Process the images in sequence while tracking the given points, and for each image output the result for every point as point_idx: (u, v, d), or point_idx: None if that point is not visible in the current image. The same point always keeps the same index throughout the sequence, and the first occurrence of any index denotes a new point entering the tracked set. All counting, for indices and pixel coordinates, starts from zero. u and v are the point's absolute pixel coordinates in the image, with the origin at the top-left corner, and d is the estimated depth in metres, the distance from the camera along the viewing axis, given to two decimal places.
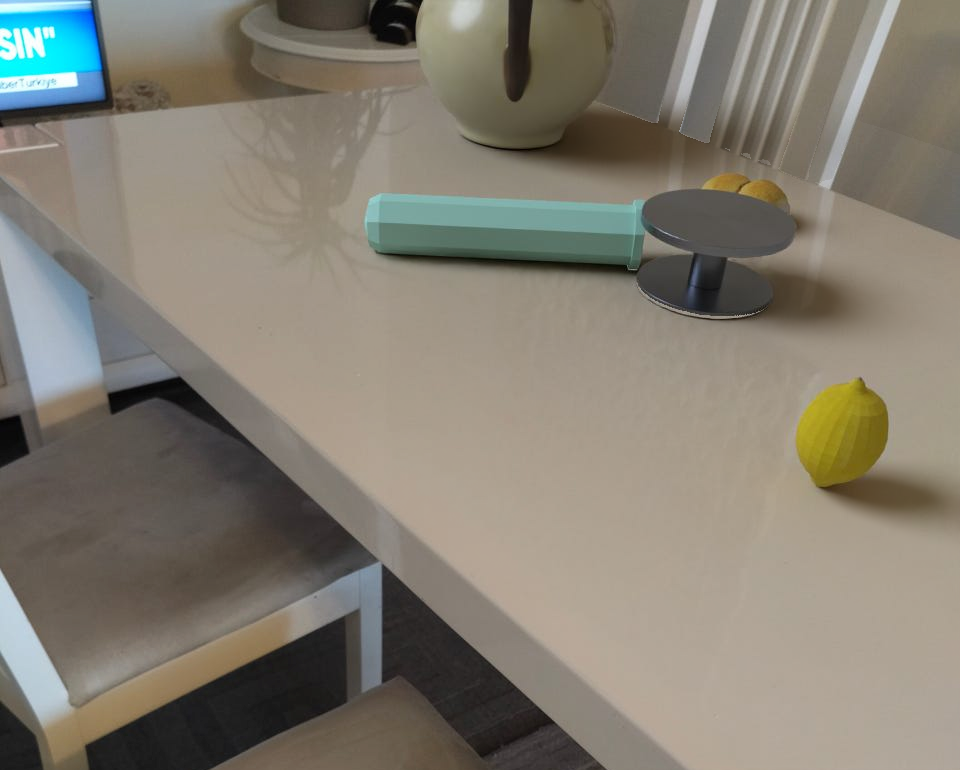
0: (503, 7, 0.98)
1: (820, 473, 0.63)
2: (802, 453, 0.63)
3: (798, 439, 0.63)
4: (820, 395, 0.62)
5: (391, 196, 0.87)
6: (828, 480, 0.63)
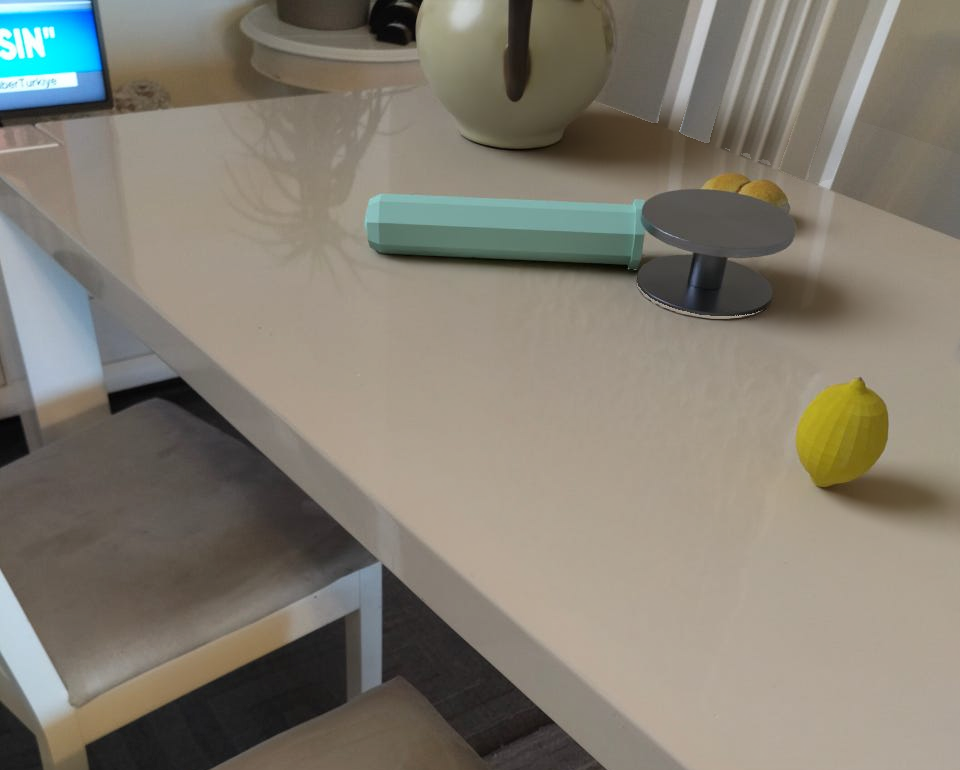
0: (503, 7, 0.98)
1: (820, 473, 0.63)
2: (802, 453, 0.63)
3: (798, 439, 0.63)
4: (820, 395, 0.62)
5: (391, 196, 0.87)
6: (828, 480, 0.63)
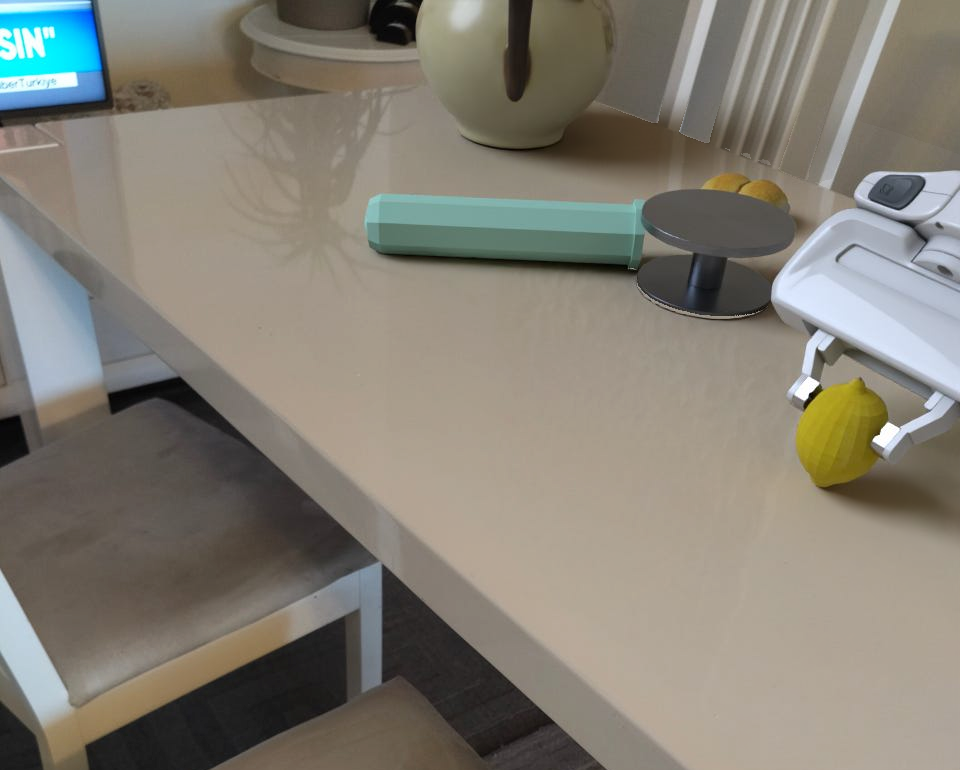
0: (503, 7, 0.98)
1: (820, 473, 0.63)
2: (802, 453, 0.63)
3: (798, 439, 0.63)
4: (820, 395, 0.62)
5: (391, 196, 0.87)
6: (828, 480, 0.63)
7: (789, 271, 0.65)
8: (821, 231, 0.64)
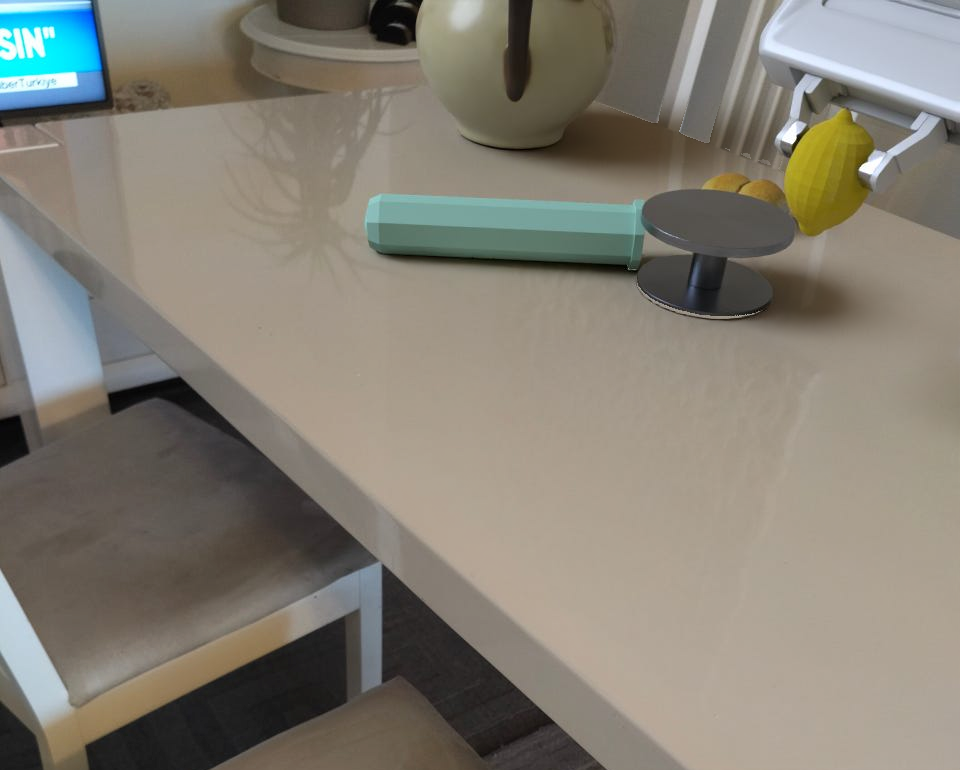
0: (503, 7, 0.98)
1: (808, 213, 0.63)
2: (791, 193, 0.64)
3: (786, 181, 0.64)
4: (808, 132, 0.62)
5: (391, 196, 0.87)
6: (817, 222, 0.64)
7: (776, 21, 0.65)
8: None
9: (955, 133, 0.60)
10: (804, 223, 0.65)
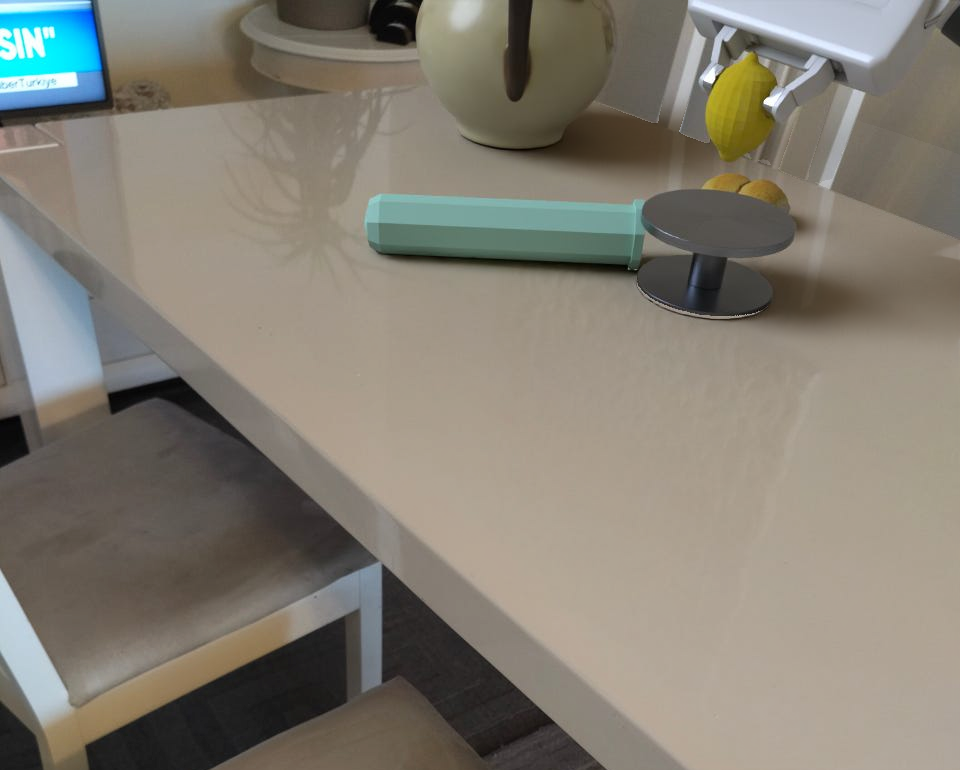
0: (503, 7, 0.98)
1: (724, 140, 0.77)
2: (710, 124, 0.77)
3: (706, 114, 0.77)
4: (723, 72, 0.75)
5: (391, 196, 0.87)
6: (731, 148, 0.77)
7: None
8: None
9: (841, 73, 0.73)
10: (722, 150, 0.78)
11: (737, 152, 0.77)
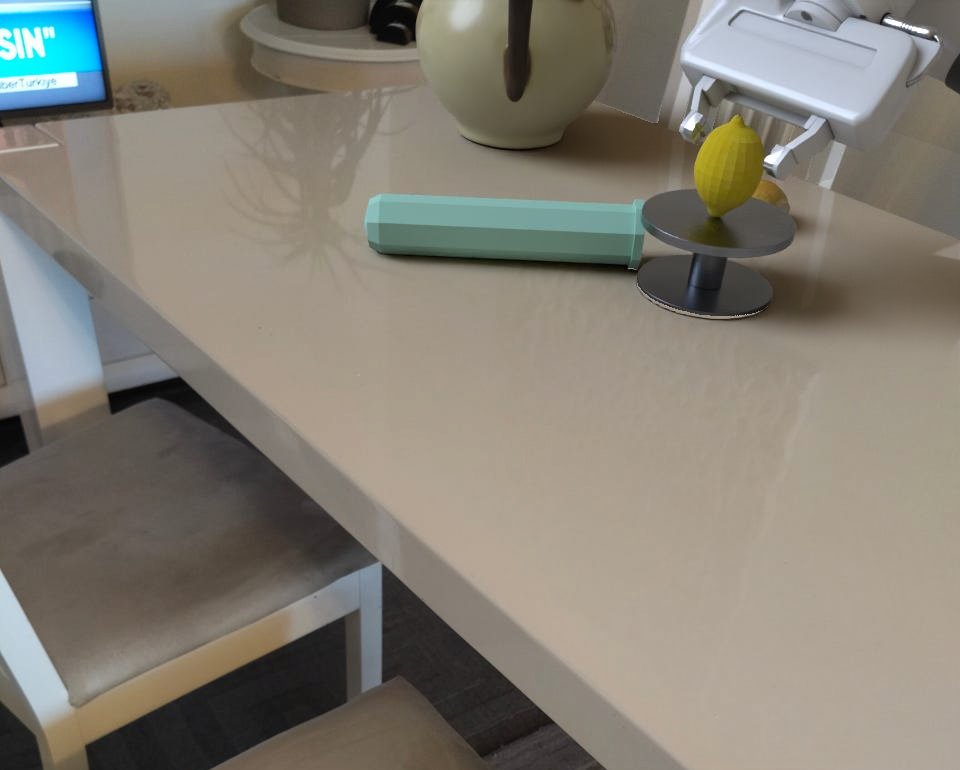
0: (503, 7, 0.98)
1: (712, 198, 0.80)
2: (698, 182, 0.80)
3: (695, 172, 0.80)
4: (710, 133, 0.79)
5: (391, 196, 0.87)
6: (719, 205, 0.80)
7: (693, 37, 0.81)
8: (717, 2, 0.80)
9: None
10: (710, 206, 0.81)
11: (724, 208, 0.81)
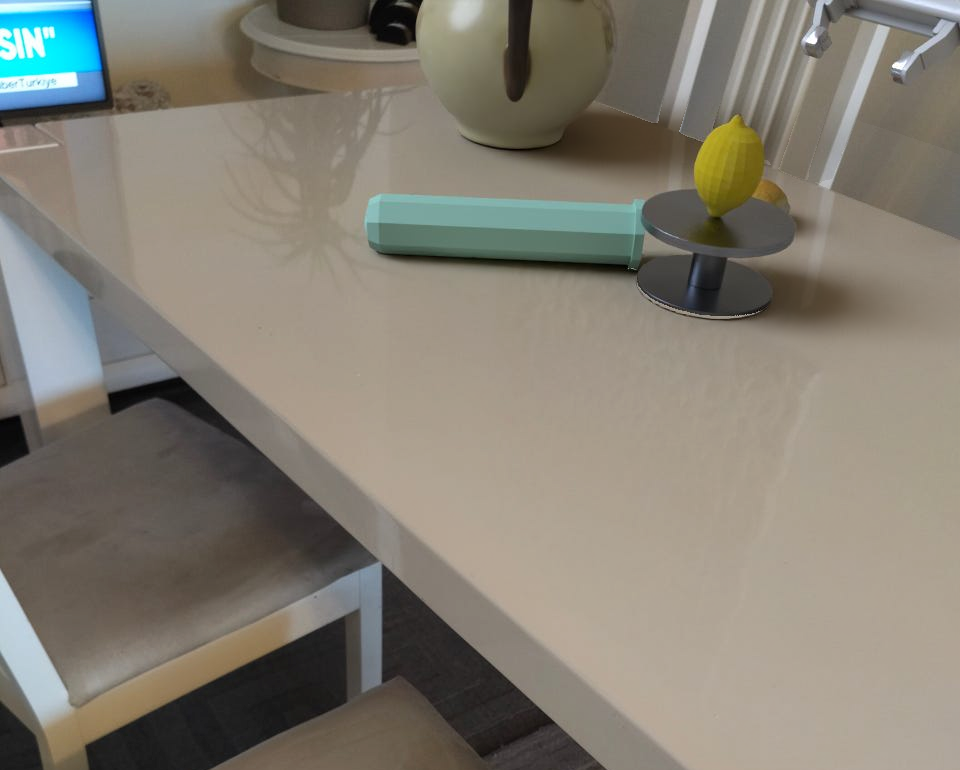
0: (503, 7, 0.98)
1: (712, 198, 0.80)
2: (698, 182, 0.80)
3: (695, 172, 0.80)
4: (710, 133, 0.79)
5: (391, 196, 0.87)
6: (719, 205, 0.80)
7: None
8: None
9: None
10: (710, 206, 0.81)
11: (724, 208, 0.81)
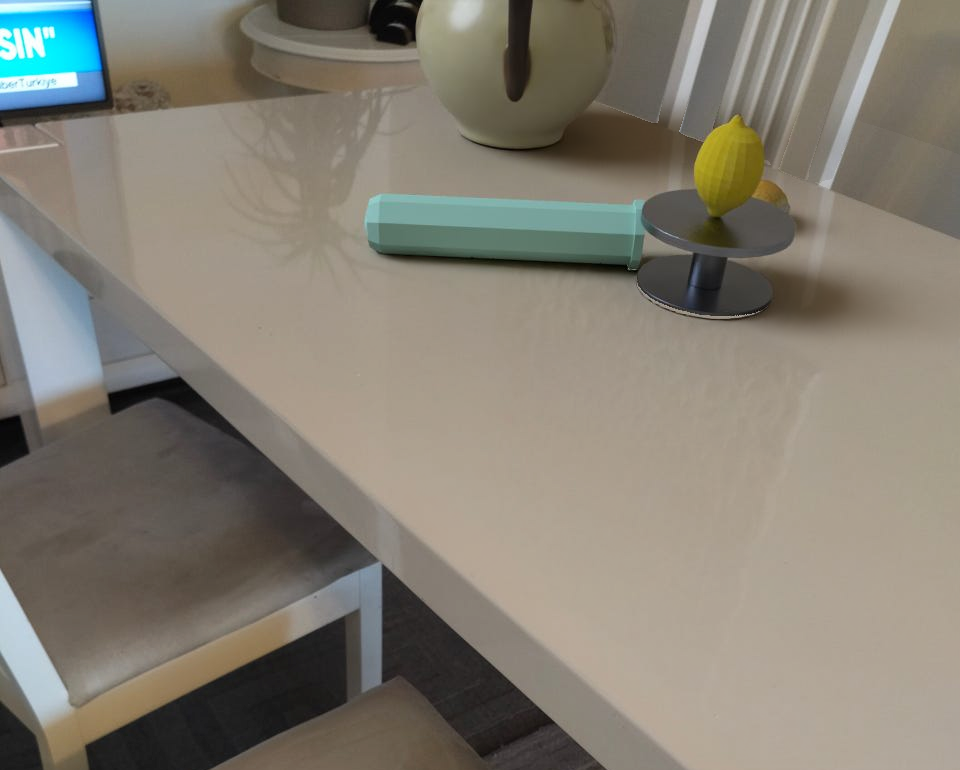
0: (503, 7, 0.98)
1: (712, 198, 0.80)
2: (698, 182, 0.80)
3: (695, 172, 0.80)
4: (710, 133, 0.79)
5: (391, 196, 0.87)
6: (719, 205, 0.80)
7: None
8: None
9: None
10: (710, 206, 0.81)
11: (724, 208, 0.81)
